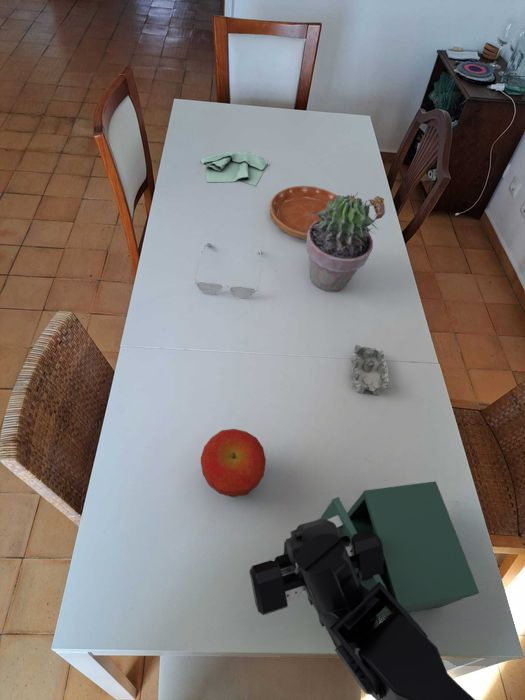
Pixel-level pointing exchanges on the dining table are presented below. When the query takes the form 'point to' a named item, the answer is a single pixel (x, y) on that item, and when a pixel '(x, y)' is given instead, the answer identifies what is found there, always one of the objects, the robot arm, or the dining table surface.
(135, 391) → the dining table surface
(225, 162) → the cloth
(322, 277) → the potted plant
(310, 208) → the saucer
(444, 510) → the box
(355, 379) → the egg carton
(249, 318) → the dining table surface
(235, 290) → the eyeglasses
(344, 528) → the cooler door
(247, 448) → the apple
